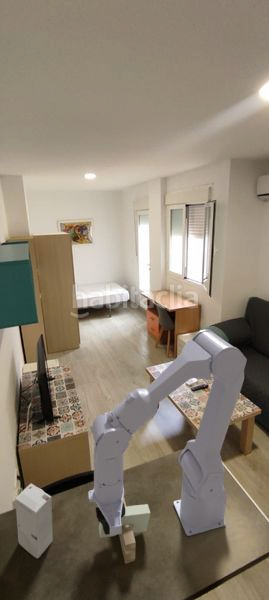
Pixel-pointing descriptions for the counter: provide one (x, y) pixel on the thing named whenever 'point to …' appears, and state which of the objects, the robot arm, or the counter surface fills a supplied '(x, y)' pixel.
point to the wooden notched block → (127, 542)
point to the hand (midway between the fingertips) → (108, 525)
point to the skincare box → (34, 520)
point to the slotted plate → (132, 519)
